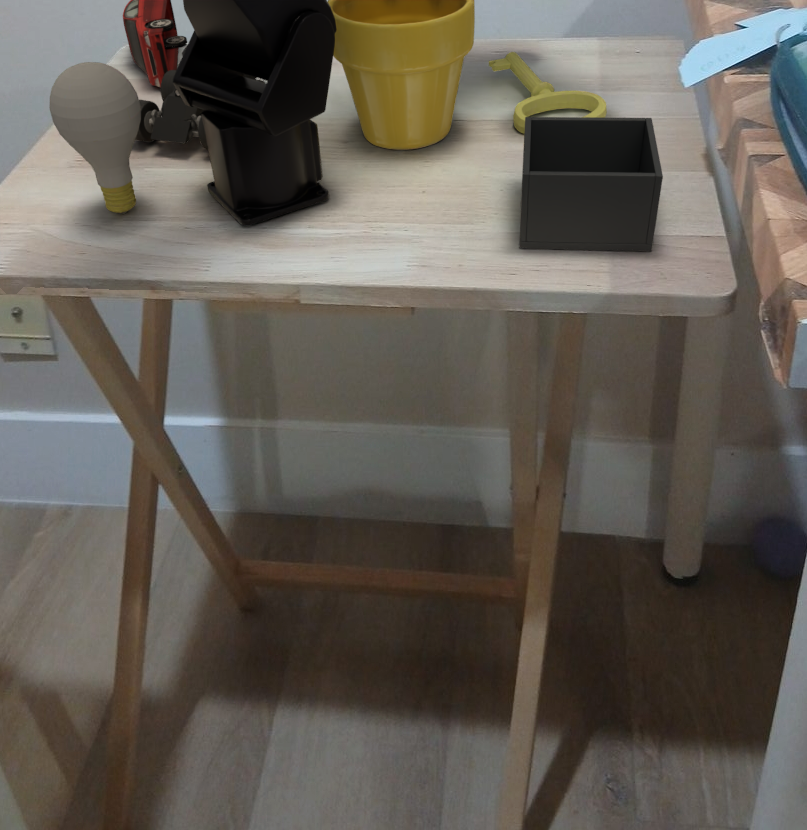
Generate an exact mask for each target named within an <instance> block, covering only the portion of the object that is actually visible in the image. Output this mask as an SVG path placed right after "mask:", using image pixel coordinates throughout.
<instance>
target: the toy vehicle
mask: <svg viewBox="0 0 807 830" xmlns="http://www.w3.org/2000/svg"><path fill="white" fill-rule="evenodd" d="M187 46H188V44H186V46H185V48H184V49H183V51H182V52H181V58H182V57H183V54H184V52H185V50H186V48H187ZM175 72H176V70H169V71H167V72H166V74H165V75H164V76H163V79H162V82H161V88H160V98H161V99H162V104H161V109H160V108H159V106H158V105H157V104H156V103H155V102H154V101H151V100H146V99H139V102H140V106H141V121H140V125H139V129H138V132H137V135H136V138H135V141H138V142H143V143H144V142H145V143H151V142H154V141H163V142H171V143H177V144H184V145H186V144H187V143H188V142H189V141H191V140H192V139H193V138H194V137H195V138H198V139H199V142H200V145H201V147H202V148H203V149H205V150H207V151H208V146H207V140H206V135H205V130H204V125H203V120H202V115H201V113H202V112H204V111H205V110H203V109H200V108H197V107H190V106H187V105H185V103H184V101H183V100H182V98H181V96H180V94H179V93H178V91H177V89H176V87H175V85H174V83H173V77H174V75H175ZM244 77H246V78H249V79H252V80H255V81H259V82H262V83H265V84H267V82H265V80H263V79H258V78H257V77H254V76H250V75H247V74H244Z"/></svg>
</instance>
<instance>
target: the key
mask: <svg viewBox="0 0 807 830" xmlns="http://www.w3.org/2000/svg"><path fill="white" fill-rule="evenodd" d="M488 67H489V68H491V70H492V72H500V71H505V70H511V72H512V74H514V76H515V77H516V78H517V79H518V81H520V83H522V85H523V86H524V87H525V88H526V89H527V90H528V92H529V93H530V96H529V97H527V98H525V99H523V100H521V101H520V102H518V103H517V104H516V105H515V107H514V111H513V115H512V118H513V119H512V120H513V127H514V128H515V129H516V130H517V132H519V133H520V134H523V135H524V131H525V117H532V116H533V115H535V114H539V113H544V112H548V111H555V110H563V109H580V110H587V111H589V113H588V114H586V115H584V116H583V117H598V118H606V116H607V113H608V111H607V102H606V101H605V98H603V97H602V96H601V95H598V94H597V93H593V92H591V91H586V90H559V91H555V87H554V86H553V84H552V83H549V82H548V81H542V80H541V79H540V77H539V76H538V75H537V74H536V73H535V72H534V71H533V70H532V69H531V68H530V66H529V65H528V64H527V63H526V62H525V61H524V60H523V59H522V58H521V57H520V56H519V54H518V53H517V52H515V51H511V52H508V53H507V54H506V55H505V57H504V58H498V59H491V60H489V61H488Z"/></svg>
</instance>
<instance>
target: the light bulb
mask: <svg viewBox="0 0 807 830" xmlns="http://www.w3.org/2000/svg"><path fill="white" fill-rule="evenodd" d="M139 100H140V99H139V96H138V92H137V90H136V89H135V87H134V85H133V84H132V82H131V81H130V80H129V79H128V77H127V76H126V75H125V74H123V73H122V72H121V71H120V70H118V69H117V68H115V67H114V66H111V65H109V64H106V63H103V62H96V61H84V62H80V63H77V64H74V65H71V66H69V67H68V68H66V69H64V70H63V72H61V73H59V75H58V76H57V77H56V79H55V80H54V82H53V85H52V86H51V89H50V93H49V112H50V116H51V119H52V124H53V125H54V126H55V128H56V130H57V132H58V134H59V135H60V136H61V137H62V139H64V141H65V142H66V143H67V144H68V145H69V146H70V147H71V148H72V149H73V150H75V151H76V152H77V153H78V154H79V155H80V156H81V157H82V158H83V159H84V160H85V161H86V162H87V163H88V164H89V165H90V166H91V168H92V170H93V172H94V174H95V178H96V182H97V185H98V186H99V187H100V190H101V192H102V196H103V200H104V206H105V208H106V209H107V210H108V211H110V212H112V213H117V214H120V215H121V214H124V215H125V214H127V213H128V212H129V211H130V210H132V209H133V208H134V207H135V206H136V204H137V198H136V197H137V196H136V194H135V189H134V185H133V181H132V180H133V174H132V173H133V172H132V170H131V166H130V157H131V154H132V150H133V147H134V144H135V141H136V140H135V138H136V135H137V132H138V129H139V125H140V121H141V106H140V102H139Z"/></svg>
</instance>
